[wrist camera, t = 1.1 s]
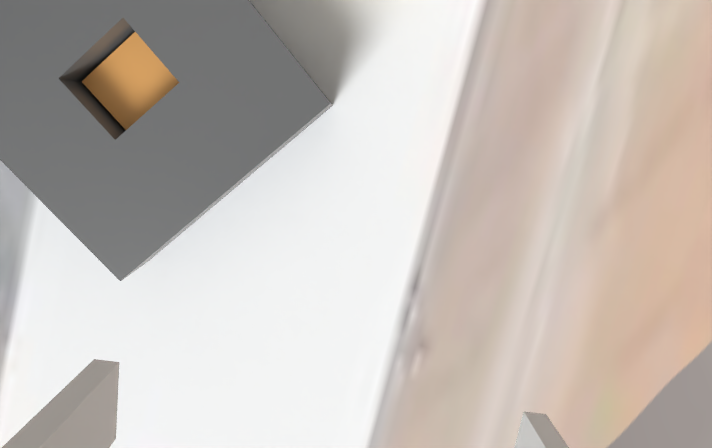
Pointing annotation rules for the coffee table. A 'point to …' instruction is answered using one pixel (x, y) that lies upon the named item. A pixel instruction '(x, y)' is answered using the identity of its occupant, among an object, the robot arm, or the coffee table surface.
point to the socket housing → (156, 127)
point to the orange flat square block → (130, 81)
